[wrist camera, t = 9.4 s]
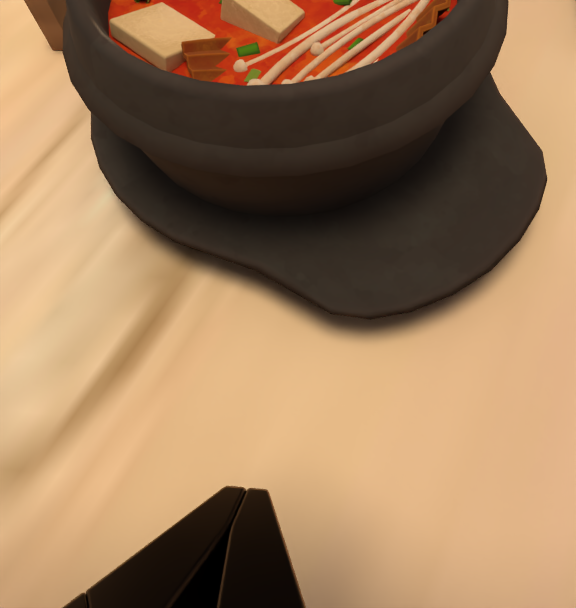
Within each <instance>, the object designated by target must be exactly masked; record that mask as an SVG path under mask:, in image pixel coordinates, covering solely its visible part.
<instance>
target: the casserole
mask: <svg viewBox="0 0 576 608" xmlns="http://www.w3.org/2000/svg"><path fill="white" fill-rule="evenodd" d="M65 1H66V8H67V11H66V14H65V17H64V21H63V55H64V59H65V62H66V66H67V69H68V73H69V76H70V80H71V82H72V84H73V85H74V87H75V89H76V90H77V92H78V93H79V95H80V97H81V98H82V100H83V101H84V103H85V105H86V106H87V108H88V109H89V110H90V111H91V140H92V143H93V146H94V150H95V153H96V157H97V160H98V164H99V167H100V169H101V171H102V173H103V174H104V176H105V178H106V179H107V181H108V183H109V184H110V186H111V188H112V189H113V191H114V193H115V194H116V196H117V197H118V198H119V199H120V200H121V201H122V202H123V203H124V204H125V205H126V206H127V207H128V208H129V209H130V210H131V211H132V212H133V213H134V214H135V215H136V216H137V217H138V218H139V219H140V220H141V221H143V222H144V223H146V224H147V225H149V226H151V227H152V228H154V229H155V230H157V231H159V232H160V233H162V234H163V235H165V236H167V237H168V238H170V239H171V240H173V241H175V242H177V243H180V244H183V245H186V246H188V247H191V248H194V249H197V250H199V251H202V252H205V253H208V254H211V255H213V256H216V257H219V258H222V259H225V260H227V261H230V262H233V263H236V264H239V265H242V266H244V267H247V268H250V269H253V270H256V271H257V272H259V273H261V274H263V275H264V276H266V277H268V278H270V279H271V280H273V281H275V282H277V283H278V284H280V285H282V286H284V287H285V288H287V289H289V290H290V291H292V292H294V293H296V294H297V295H299V296H301V297H303V298H304V299H306V300H308V301H310V302H311V303H313V304H315V305H317V306H318V307H320V308H322V309H324V310H325V311H327V312H329V313H331V314H336V315H343V316H350V317H358V318H365V319H375V318H380V317H386V316H391V315H397V314H402V313H408V312H412V311H415V310H417V309H420V308H422V307H425V306H427V305H429V304H432V303H434V302H437V301H439V300H442V299H444V298H447V297H449V296H452V295H454V294H455V293H457V292H458V291H460V290H461V289H463V288H464V287H466V286H467V285H469V284H471V283H472V282H474V281H475V280H477V279H478V278H480V277H481V276H483V275H484V274H486V273H488V272H489V271H491V270H492V269H493V268H494V267H495V266H496V265H497V263H498V262H499V261H500V260H501V259H502V258H503V257H504V256H505V255H506V254H507V253H508V252H509V251H510V250H511V249H512V248H513V247H514V246H515V245H516V244H517V243H518V242H519V241H520V240H521V238H522V236H523V235H524V233H525V231H526V230H527V228H528V226H529V225H530V223H531V222H532V220H533V218H534V217H535V215H536V213H537V212H538V210H539V208H540V204H541V201H542V197H543V193H544V190H545V186H546V183H547V175H546V169H545V163H544V157H543V152H542V150H541V149H540V147H539V146H538V145H537V143H536V142H535V140H534V139H533V138H532V136H531V135H530V134H529V132H528V131H527V130H526V128H525V127H524V126H523V124H522V123H521V122H520V120H519V119H518V118H517V116H516V115H515V114H514V112H513V111H512V109H511V108H510V107H509V105H508V104H507V103H506V101H505V100H504V99H503V97H502V96H501V95H500V93H499V91H498V88H497V86H496V84H495V82H494V80H493V77H492V75H491V73H490V71H491V70H492V68H493V67H494V65H495V62H496V60H497V57H498V54H499V52H500V49H501V46H502V44H503V41H504V38H505V36H506V30H507V16H508V0H65Z"/></svg>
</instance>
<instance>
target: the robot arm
mask: <svg viewBox="0 0 576 608" xmlns="http://www.w3.org/2000/svg"><path fill="white" fill-rule="evenodd" d="M63 608H306V606H305V603H304V600H303V597H302V594H301V591H300V588H299V584H298V581H297V578H296V575H295V572H294V569H293V566H292V563H291V559H290V556H289V553H288V550H287V547H286V544H285V541H284V538H283V534H282V531H281V528H280V525H279V522H278V519H277V516H276V513H275V509H274V506H273V503H272V500H271V497H270V494H269V492H268V490H266V489H256V488H249V489H247V491H246V489H245V488H244V487H235V486H226V487H224V488H222V489H221V490H220V491H218V492H217V493H216V494H214V495H213V496H212V497H210V498H209V499H208V500H206V501H205V502H204V503H202V504H201V505H200V506H198V507H197V508H196V509H194V510H193V511H192V512H190V513H189V514H188V515H186V516H185V517H184V518H182V519H181V520H180V521H178V522H177V523H176V524H174V525H173V526H172V527H170V528H169V529H168V530H166V531H165V532H164V533H162V534H161V535H160V536H158V537H157V538H156V539H154V540H153V541H152V542H150V543H149V544H148V545H146V546H145V547H144V548H142V549H141V550H140V551H138V552H137V553H136V554H134V555H133V556H132V557H130V558H129V559H128V560H126V561H125V562H124V563H122V564H121V565H120V566H118V567H117V568H116V569H114V570H113V571H112V572H110V573H109V574H108V575H106V576H105V577H104V578H102V579H101V580H100V581H98V582H97V583H96V584H94V585H93V586H92V587H91V588H89V589H88V590H87V591H86V594H85V593H81V594H80V595H79V596H77V597H76V598H75V599H73V600H72V601H71V602H69V603H68V604H67V605H65V606H64V607H63Z"/></svg>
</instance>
